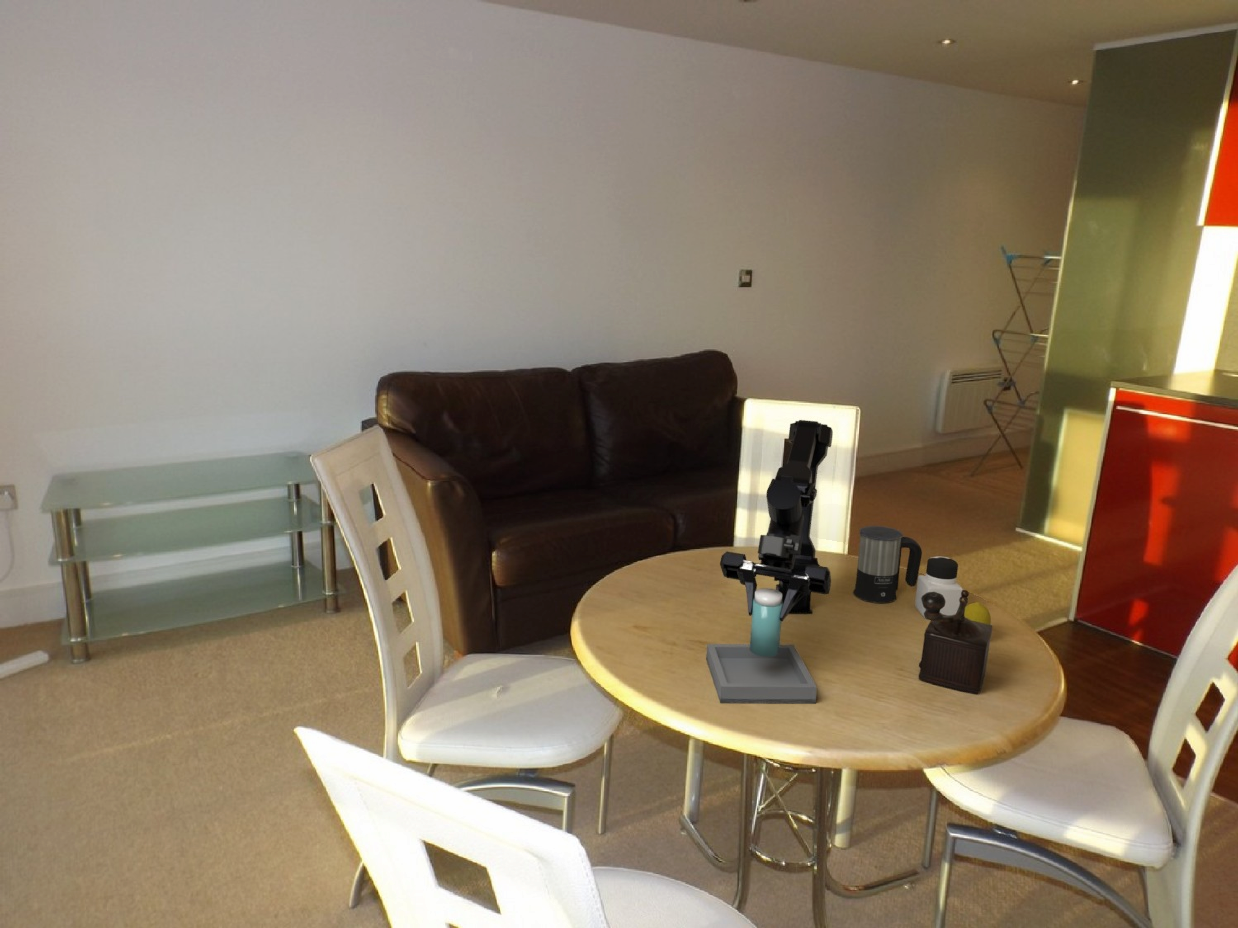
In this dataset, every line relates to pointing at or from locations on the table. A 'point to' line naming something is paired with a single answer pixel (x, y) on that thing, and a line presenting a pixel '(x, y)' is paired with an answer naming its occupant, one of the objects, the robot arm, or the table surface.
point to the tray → (759, 675)
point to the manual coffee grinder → (953, 647)
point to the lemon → (977, 613)
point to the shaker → (766, 622)
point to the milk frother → (884, 563)
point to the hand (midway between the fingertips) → (765, 617)
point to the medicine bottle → (940, 584)
